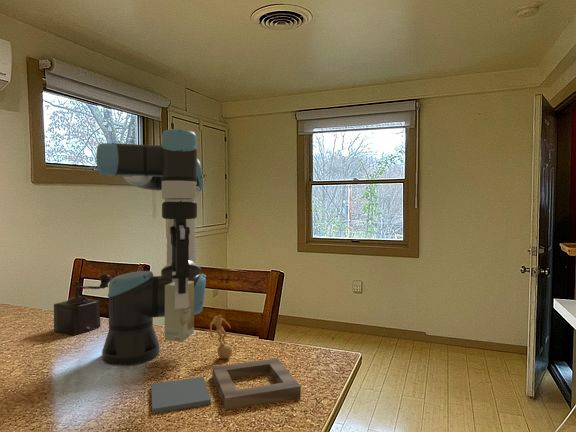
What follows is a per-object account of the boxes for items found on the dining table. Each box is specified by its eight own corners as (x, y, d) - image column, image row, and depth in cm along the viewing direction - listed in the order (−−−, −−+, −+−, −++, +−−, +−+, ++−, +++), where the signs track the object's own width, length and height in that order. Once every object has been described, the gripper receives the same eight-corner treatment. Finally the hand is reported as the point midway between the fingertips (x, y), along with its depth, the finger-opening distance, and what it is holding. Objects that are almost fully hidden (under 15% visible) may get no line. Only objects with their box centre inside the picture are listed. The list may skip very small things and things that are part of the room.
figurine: (220, 364, 107) (220, 320, 106) (203, 360, 110) (203, 317, 109) (239, 354, 114) (239, 313, 113) (223, 350, 117) (223, 310, 117)
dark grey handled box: (75, 336, 128) (74, 281, 128) (52, 331, 133) (52, 278, 133) (114, 323, 142) (114, 273, 142) (93, 319, 147) (92, 271, 147)
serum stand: (212, 376, 100) (212, 366, 99) (276, 367, 105) (277, 358, 105) (225, 410, 84) (225, 398, 83) (300, 397, 89) (300, 386, 89)
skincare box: (182, 342, 85) (182, 286, 85) (163, 341, 86) (163, 285, 86) (195, 332, 92) (195, 280, 91) (177, 331, 93) (177, 279, 92)
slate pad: (151, 388, 93) (151, 383, 93) (203, 380, 97) (203, 376, 97) (152, 413, 82) (152, 409, 82) (210, 404, 86) (210, 399, 86)
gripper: (203, 200, 80) (203, 313, 81) (191, 201, 99) (191, 292, 100) (164, 200, 77) (164, 317, 78) (160, 201, 96) (160, 294, 97)
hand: (179, 303), depth 89 cm, fingers closed on skincare box, 7 cm apart
